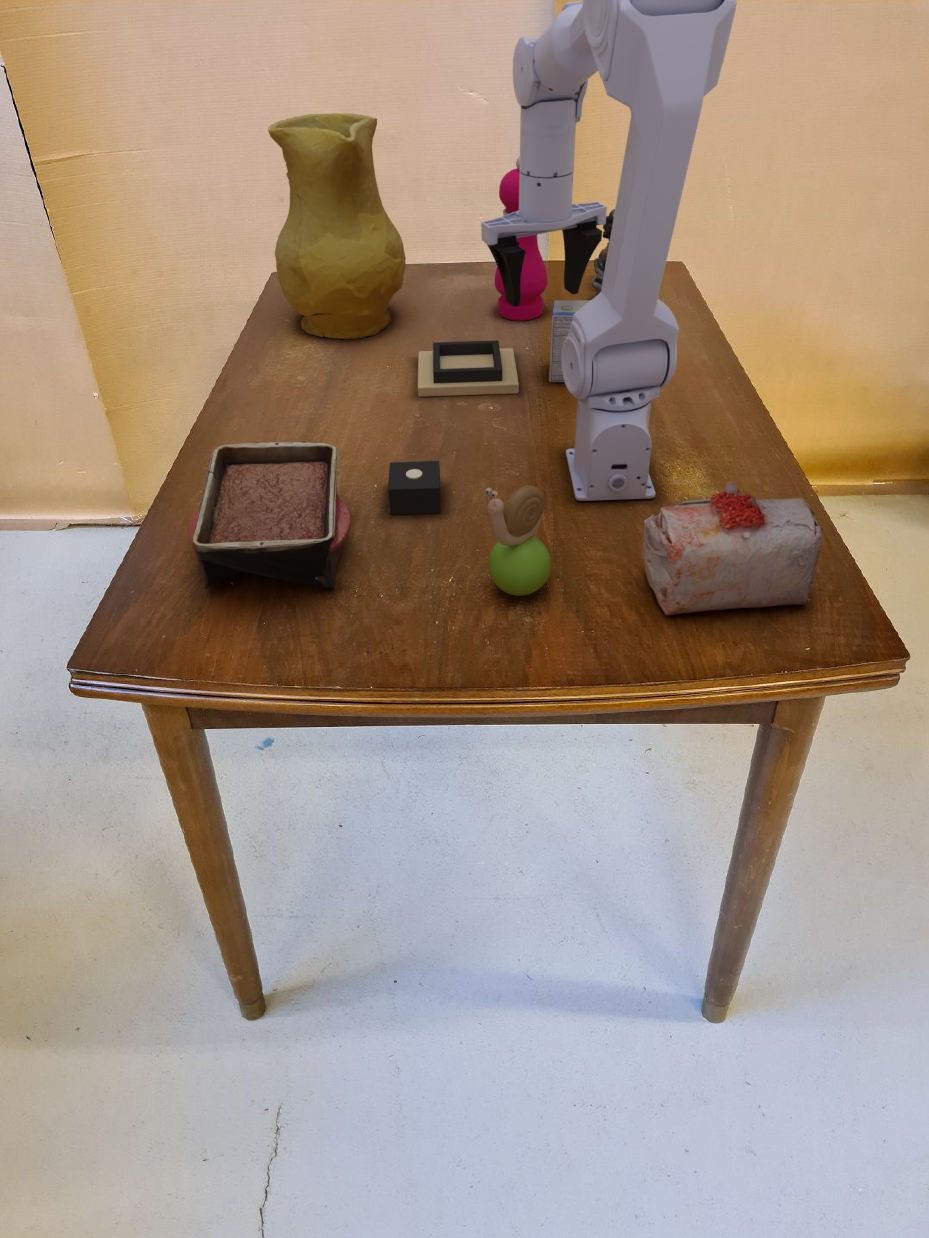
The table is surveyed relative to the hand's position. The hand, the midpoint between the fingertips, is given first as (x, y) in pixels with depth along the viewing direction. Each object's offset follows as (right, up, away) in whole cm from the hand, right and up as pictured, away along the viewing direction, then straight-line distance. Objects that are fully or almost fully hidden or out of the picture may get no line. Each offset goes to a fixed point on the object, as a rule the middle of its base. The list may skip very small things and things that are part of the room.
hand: (542, 297), depth 105 cm
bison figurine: (+13, +10, +26) cm, 31 cm away
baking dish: (-27, -31, -19) cm, 45 cm away
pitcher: (-25, +5, +21) cm, 33 cm away
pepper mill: (-1, +5, +21) cm, 22 cm away
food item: (+13, -35, -25) cm, 45 cm away
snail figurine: (-5, -35, -24) cm, 43 cm away
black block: (-14, -25, -13) cm, 32 cm away
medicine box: (+5, -8, +6) cm, 11 cm away
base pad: (-9, -7, +7) cm, 13 cm away
